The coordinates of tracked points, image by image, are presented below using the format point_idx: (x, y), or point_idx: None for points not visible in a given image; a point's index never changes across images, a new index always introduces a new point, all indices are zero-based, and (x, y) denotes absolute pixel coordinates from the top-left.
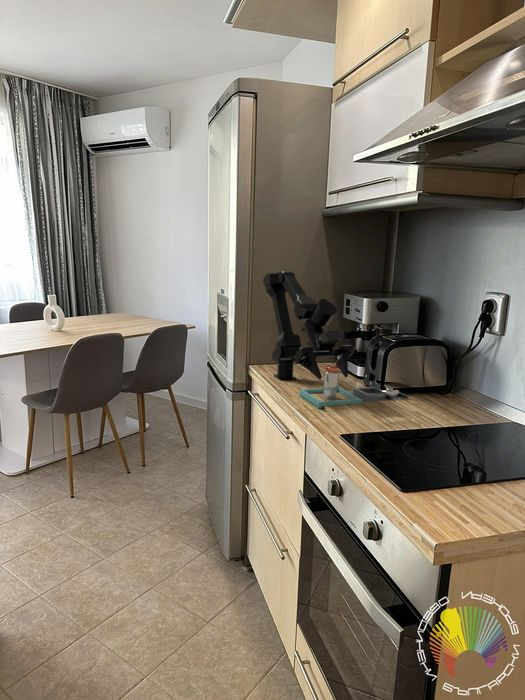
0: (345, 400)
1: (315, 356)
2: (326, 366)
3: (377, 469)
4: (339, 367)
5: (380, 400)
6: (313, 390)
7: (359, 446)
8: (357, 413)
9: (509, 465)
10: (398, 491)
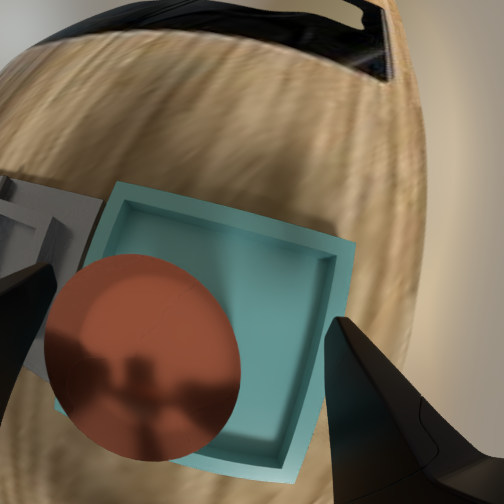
0: (199, 205)
1: (493, 501)
2: (215, 420)
3: (384, 23)
4: (1, 402)
5: (38, 189)
6: (219, 456)
7: (374, 47)
8: (220, 140)
9: None
10: (386, 10)
